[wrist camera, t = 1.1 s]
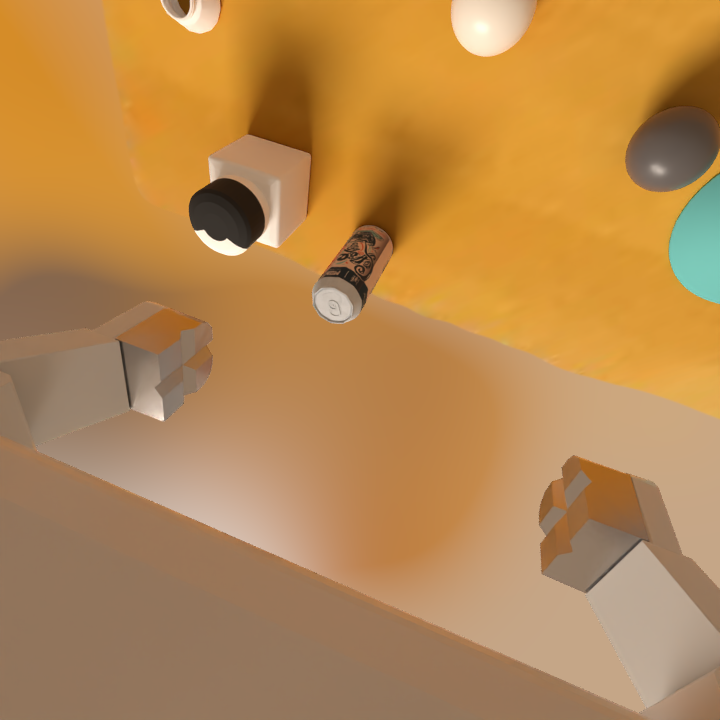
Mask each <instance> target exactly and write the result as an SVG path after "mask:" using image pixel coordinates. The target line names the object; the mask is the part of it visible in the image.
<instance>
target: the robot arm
mask: <svg viewBox="0 0 720 720" xmlns="http://www.w3.org/2000/svg"><path fill="white" fill-rule="evenodd" d="M210 341H212V327H211V326H210V325H209V324H208V323H207V322H205V321H202V320H200V319H197V318H195V317H192V316H189V315H187V314H184V313H181V312H179V311H176V310H174V309H171V308H168V307H166V306H163V305H160V304H157V303H155V302H152V301H145V302H143V303H141V304H139V305H137V306H135V307H134V308H132V309H130V310H129V311H126V312H125V313H123V314H121V315H119V316H118V317H116V318H114V319H112V320H110V321H108V322H106V323H105V324H103V325H101V326H99V327H97V328H96V329H94V330H89V329H86V328H85V329H78V330H71V331H64V332H57V333H50V334H43V335H36V336H29V337H22V338H15V339H8V340H1V341H0V720H720V589H719V588H718V587H717V586H716V585H715V583H714V582H713V581H712V580H711V579H710V578H709V577H708V576H707V575H706V574H705V573H704V571H703V570H701V568H700V567H699V566H698V565H697V564H696V563H695V562H694V561H693V560H692V559H691V558H688V557H686V556H683V554H682V552H681V549H680V546H679V544H678V541H677V538H676V535H675V532H674V530H673V527H672V524H671V521H670V518H669V515H668V513H667V510H666V507H665V504H664V502H663V499H662V496H661V493H660V490H659V488H658V486H657V485H656V484H655V483H653V482H652V481H649V480H646V479H643V478H640V477H637V476H634V475H631V474H628V473H623V472H620V471H617V470H614V469H611V468H609V467H606V466H603V465H600V464H597V463H594V462H591V461H589V460H586V459H583V458H580V457H578V456H575V455H573V456H572V457H570V458H569V459H568V460H567V461H566V462H565V464H564V465H563V467H562V476H563V478H561V479H558V480H555V481H552V482H551V483H550V485H549V486H548V488H547V489H546V491H545V493H544V495H543V499H542V501H541V504H540V510H539V525H540V527H541V529H542V530H543V532H544V533H545V534H546V537H545V538H544V539H543V541H542V542H541V543H540V553H541V569H542V570H541V572H542V574H543V575H545V576H547V577H550V578H552V579H554V580H556V581H559V582H561V583H563V584H566V585H568V586H570V587H573V588H575V589H577V590H580V591H582V592H584V593H587V594H586V595H585V596H586V598H587V600H588V601H589V603H590V605H591V607H592V609H593V611H594V613H595V614H596V616H597V618H598V620H599V622H600V623H601V625H602V627H603V629H604V631H605V633H606V635H607V636H608V638H609V640H610V642H611V644H612V646H613V648H614V649H615V651H616V653H617V655H618V657H619V659H620V661H621V662H622V664H623V666H624V668H625V670H626V671H627V673H628V675H629V677H630V679H631V681H632V683H633V685H634V686H635V688H636V690H637V692H638V694H639V696H640V697H641V699H642V701H643V703H644V705H645V706H646V709H645V710H643V711H641V712H639V713H637V712H635V711H632V710H630V709H627V708H625V707H623V706H621V705H618V704H616V703H614V702H611V701H609V700H607V699H604V698H602V697H600V696H598V695H595V694H593V693H591V692H589V691H586V690H584V689H581V688H580V687H577V686H575V685H573V684H570V683H568V682H566V681H563V680H561V679H559V678H557V677H554V676H552V675H550V674H547V673H545V672H543V671H541V670H538V669H536V668H533V667H531V666H529V665H527V664H524V663H522V662H520V661H518V660H515V659H513V658H511V657H508V656H506V655H504V654H502V653H499V652H497V651H494V650H492V649H490V648H488V647H485V646H483V645H481V644H478V643H476V642H474V641H472V640H469V639H467V638H465V637H462V636H460V635H458V634H455V633H453V632H451V631H449V630H446V629H444V628H442V627H439V626H437V625H435V624H432V623H430V622H428V621H426V620H423V619H421V618H419V617H416V616H414V615H412V614H409V613H407V612H405V611H403V610H400V609H398V608H395V607H393V606H391V605H389V604H386V603H384V602H381V601H380V600H377V599H375V598H372V597H370V596H368V595H366V594H363V593H361V592H359V591H356V590H354V589H352V588H349V587H347V586H345V585H343V584H340V583H338V582H336V581H333V580H331V579H329V578H327V577H324V576H322V575H319V574H317V573H315V572H313V571H310V570H308V569H306V568H304V567H301V566H299V565H297V564H294V563H292V562H290V561H288V560H285V559H283V558H281V557H278V556H276V555H274V554H272V553H269V552H267V551H265V550H262V549H260V548H258V547H256V546H253V545H251V544H249V543H246V542H244V541H242V540H240V539H237V538H235V537H232V536H230V535H228V534H226V533H224V532H221V531H219V530H217V529H214V528H212V527H210V526H208V525H205V524H203V523H201V522H198V521H196V520H194V519H192V518H189V517H187V516H184V515H182V514H180V513H178V512H175V511H173V510H171V509H169V508H166V507H164V506H162V505H159V504H157V503H155V502H153V501H150V500H148V499H146V498H143V497H141V496H139V495H137V494H134V493H132V492H130V491H127V490H125V489H123V488H120V487H118V486H116V485H114V484H111V483H109V482H107V481H104V480H102V479H100V478H97V477H95V476H93V475H91V474H88V473H86V472H84V471H81V470H79V469H77V468H75V467H72V466H70V465H67V464H65V463H63V462H61V461H58V460H56V459H54V458H52V457H49V456H47V455H45V454H42V453H40V452H38V451H37V449H36V446H38V445H40V444H43V443H46V442H48V441H51V440H54V439H56V438H59V437H62V436H64V435H67V434H70V433H72V432H75V431H78V430H80V429H83V428H85V427H88V426H91V425H93V424H96V423H98V422H101V421H104V420H107V419H110V418H112V417H115V416H117V415H120V414H123V413H125V412H128V411H130V409H132V410H135V411H137V412H140V413H142V414H145V415H148V416H151V417H153V418H156V419H159V420H161V421H165V420H166V419H168V418H169V417H170V416H171V415H172V414H173V413H174V412H175V411H176V410H177V409H179V407H181V406H182V405H183V404H184V395H187V394H191V393H194V392H197V391H198V390H199V389H200V388H201V387H202V386H203V385H204V383H205V382H206V380H207V378H208V376H209V375H210V372H211V368H212V358H213V355H212V354H211V352H210V350H209V349H208V347H207V344H208V343H209V342H210Z"/></svg>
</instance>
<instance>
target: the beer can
mask: <svg viewBox="0 0 720 720" xmlns="http://www.w3.org/2000/svg"><path fill="white" fill-rule="evenodd" d="M392 253H393V245H392V241H391V239H390V237H389V236H388V234H387V233H386V232H385V231H384V230H382V229H380V228H379V227H376V226H373V225H365V226H362V227H359V228H358V229H357V230H356V231H355V232H354V233H353V234H352V236H351V237H350V238H349V240H348V241H347V242H346V244H345V245H344V246H343V248H342V249H341V250H340V252H339V253H338V254H337V256H336V257H335V258H334V260H333V261H332V262H331V264H330V265H329V266H328V268H327V269H326V270H325V272H324V273H323V274H322V276H321V277H320V279H319V280H318V281H317V282H316V283H315V285H314V287H313V292H312V296H313V306H314V308H315V310H316V311H317V313H318V314H319V316H320V317H322V318H324V319H325V320H327V321H329V322H330V323H342V324H343V323H345V322H348V321H351V320H353V319H354V318H356V317H357V316H358V315H359V313H360V312H361V310H362V308H363V306H364V305H365V303H366V301H367V299H368V297H369V296H370V294H371V292H372V290H373V289H374V287H375V285H376V283H377V281H378V280H379V278H380V276H381V274H382V272H383V271H384V269H385V267H386V265H387V264H388V262H389V260H390V258H391V256H392Z"/></svg>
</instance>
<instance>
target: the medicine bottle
mask: <svg viewBox="0 0 720 720" xmlns="http://www.w3.org/2000/svg"><path fill="white" fill-rule="evenodd" d="M310 166H311V155H310V154H309V153H307V152H304V151H301V150H297V149H294V148H291V147H288V146H284V145H281V144H278V143H275V142H272V141H268V140H265V139H262V138H259V137H256V136H252V135H245V136H243V137H242V138H240V139H238V140H236V141H234V142H233V143H231V144H229V145H227V146H226V147H224V148H222V149H220V150H218V151H217V152H215V153H213V154H211V155H210V156H209V171H210V182H211V183H210V184H208V185H207V186H205V187H204V188H202V189H201V190H199V191H198V192H196V193H195V194H194V195H193V196H192V198H191V200H190V203H189V216H190V221H191V224H192V226H193V228H194V230H195V232H196V233H197V235H198V236H199V238H200V239H201V240H202V241H203V242H204V243H205V244H206V245H207V246H209V247H210V248H212V249H213V250H215V251H217V252H219V253H222V254H225V255H238V254H241V253H243V252H245V251H246V250H247V249H248V248H249V247H250V246H251V245H252V244H253V243H254V242H255V241H258V242H261V243H263V244H266V245H269V246H272V247H275V248H277V247H279V246H280V245H281V244H282V243H283V242H284V241H285V240H286V239H287V238H288V237H289V236H290V235H291V234H292V233H293V232H294V231H295V230H296V229H297V228H298V227H299V226H300V225H301V224H302V222H303V221H304V220H305V219H306V216H307V203H308V191H309V178H310Z"/></svg>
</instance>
